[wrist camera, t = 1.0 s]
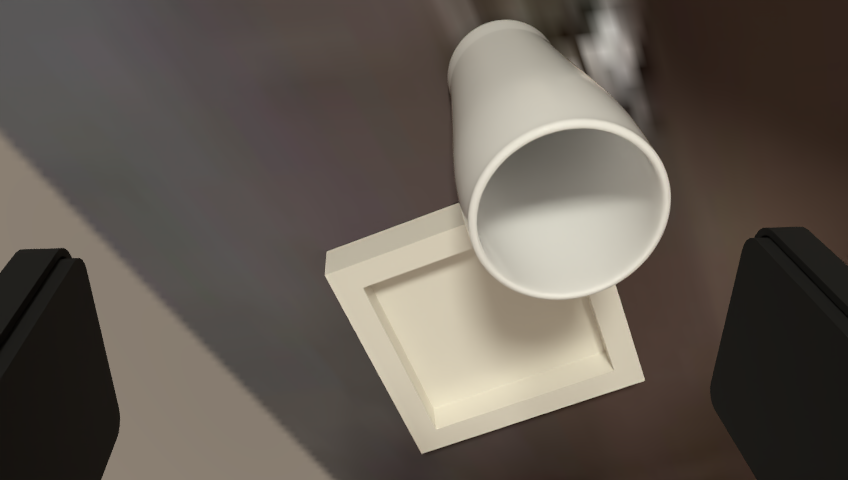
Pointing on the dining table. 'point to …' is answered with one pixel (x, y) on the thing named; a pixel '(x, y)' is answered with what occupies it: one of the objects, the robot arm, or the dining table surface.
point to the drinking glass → (549, 167)
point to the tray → (472, 333)
